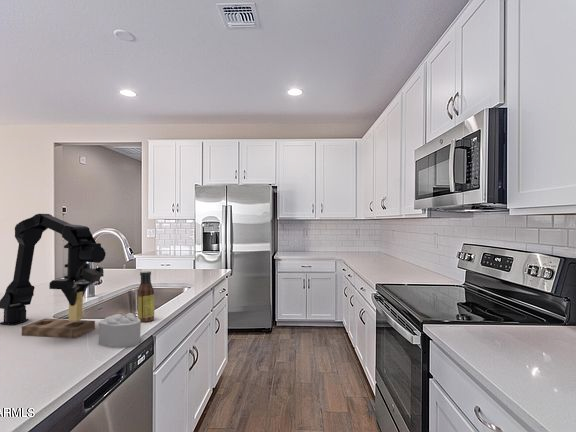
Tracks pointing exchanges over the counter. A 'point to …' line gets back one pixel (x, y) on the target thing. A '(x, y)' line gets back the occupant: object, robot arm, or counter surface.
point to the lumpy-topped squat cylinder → (119, 331)
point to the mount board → (58, 328)
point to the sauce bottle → (145, 298)
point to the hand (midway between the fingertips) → (75, 304)
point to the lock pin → (76, 307)
